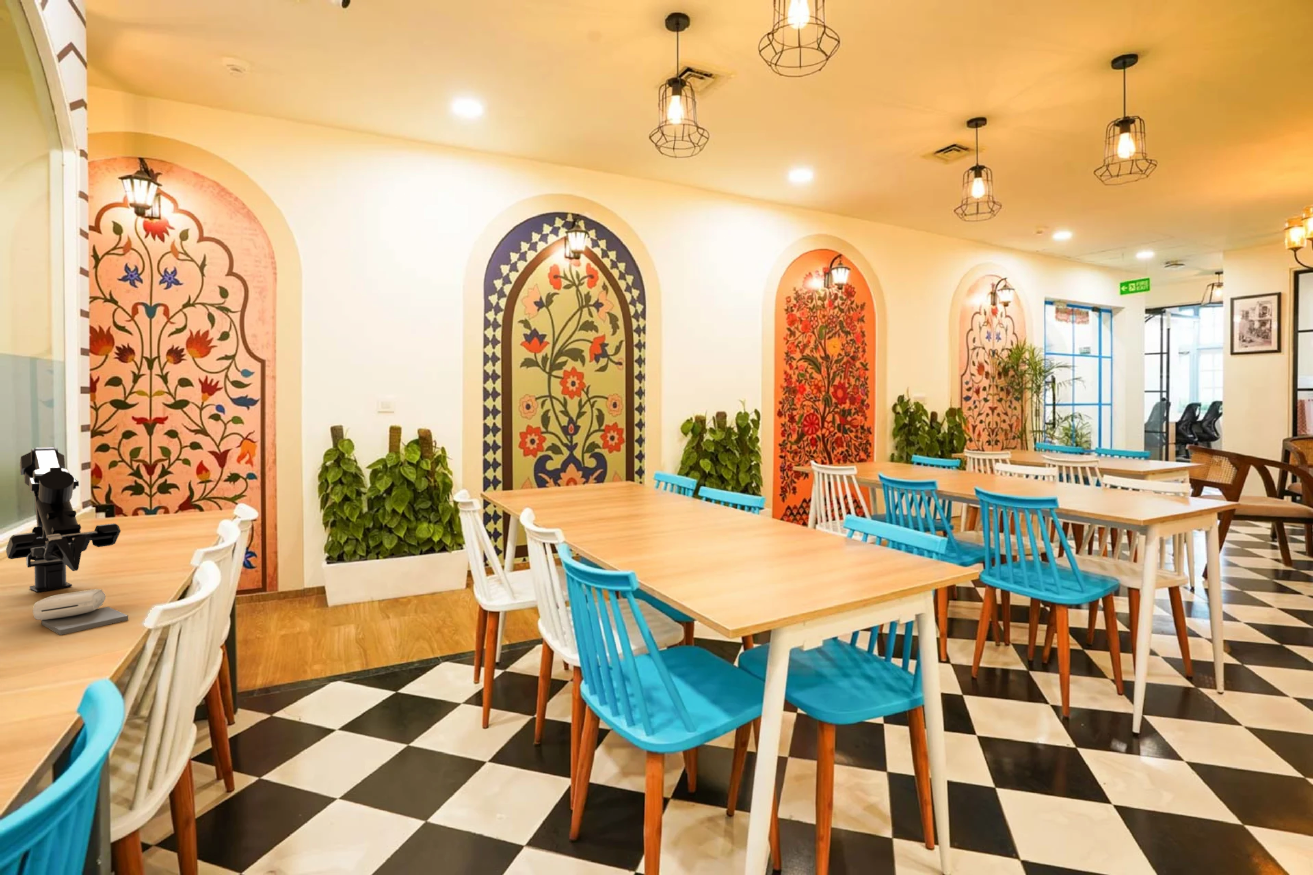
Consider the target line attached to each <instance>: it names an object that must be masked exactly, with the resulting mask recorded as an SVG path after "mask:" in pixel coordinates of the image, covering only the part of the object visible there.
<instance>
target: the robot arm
mask: <svg viewBox="0 0 1313 875" xmlns="http://www.w3.org/2000/svg"><path fill="white" fill-rule="evenodd" d="M19 461H20V462H19V474H20V476H23V480H24V481H23V482H24V483H25V485H27V486H29V493H33V498H34V507H35V516H36V517H35V519H36V526H33V528H32V529H31V532H28V533H27V532H26V533H18V534H13V535H11V537H9V539H8V543H7V545H6V548H5V549H6V550H5V552H6V556H7V559H10V560H13V559H21V558H25V559H26V560H25V561H26V562H25V563H26V566H27V568H33V569H34V585H30V586H29V589H30V590H33V591H34V592H36V593H41V592H46V591H52V590H57V589H63V588H69V587H73V584H72V583H70V582H67V568H68V569H70V570H71V571H72V572H77V571H78V570H79V568H80V560H81V557H82V553H83V552H85V551H87V549H88V547H89V544H90V542H91V544H92V546H94V547H96V548H103V547H109V546H113V545H115V544H116V543H117V540H118V538H119V536H120V533H121V531H122V530H121V528H120V526H119V524H117V523H105V524H97V525H96V526H95V527H94V528H95V529H94V531H93V530H92V531H83V532H82V531H81V529H82V526H81V523H78V520H77V518H76V515H77V511H76V510H74V509H73V506H72V504H71V499H72V498H73V492H74V490H76V489H77V488H76V487H79V486H80V484H79V480H78V479H76V478H75V477H74V476H75V475H72V474H71V472H70V471H69V469H67V468H66V463H65V462H66V460H65V455H64V454H62V453H61V452H59V448H58V447H57V448H56V447H53V446H51V447H50V446H49V447H34V448H31V449H30V452H28V453H25V454H24V455H21V456H20V459H19Z"/></svg>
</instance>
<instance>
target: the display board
mask: <svg viewBox="0 0 1313 875" xmlns="http://www.w3.org/2000/svg"><path fill="white" fill-rule="evenodd" d="M126 620H127V621H129V615H128V614H125V613H123V612H121V611H119V610H117V609H115V608H112V607H111V606H105V607H99V608H97V609H95V610H94V611H91V612H87V613H83V614H79V615H74V616H68V617H61V618H54V619H46V620H41V625H42V626H43V627H45V628H46V629H48V628H49V630H50V631H51V632H53V633H56V634H57V635H59V636H61V635H62V636H63V635H67V634H72V633H76V632H80V631H86V630H90V629H94V628H99V627H103V626H107V625H111V624H112V623H113V624H116V623H117V624H118V623H121V622H120V621H122V622H127V621H126ZM89 628H90V629H89Z"/></svg>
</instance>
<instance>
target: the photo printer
mask: <svg viewBox="0 0 1313 875" xmlns="http://www.w3.org/2000/svg"><path fill="white" fill-rule="evenodd" d="M106 596H107V595H106V593H105V592H104V591H103V589H101V588H99V589H98V588H97V589H96V588H94V589H86V590H80V591H79V590H78V591H73V592H66V593H60V594H54V595H50V596H47V597H45V598H42V599H39V600H38V601H36V602H34V604H33V607H32V615H33V617H34V619H35V620H38V621H39V620H41V621H42V620H46V619H54V618H61V617H68V616H74V615H79V614H83V613H87V612H91V611H94V610H95V609H99V608H101V607H103V604H104V602H105V600H106Z"/></svg>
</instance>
